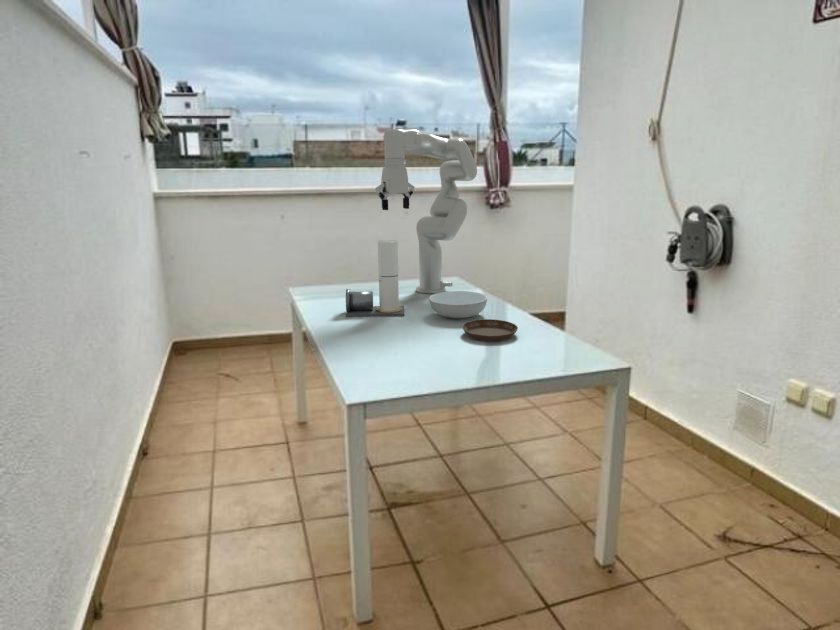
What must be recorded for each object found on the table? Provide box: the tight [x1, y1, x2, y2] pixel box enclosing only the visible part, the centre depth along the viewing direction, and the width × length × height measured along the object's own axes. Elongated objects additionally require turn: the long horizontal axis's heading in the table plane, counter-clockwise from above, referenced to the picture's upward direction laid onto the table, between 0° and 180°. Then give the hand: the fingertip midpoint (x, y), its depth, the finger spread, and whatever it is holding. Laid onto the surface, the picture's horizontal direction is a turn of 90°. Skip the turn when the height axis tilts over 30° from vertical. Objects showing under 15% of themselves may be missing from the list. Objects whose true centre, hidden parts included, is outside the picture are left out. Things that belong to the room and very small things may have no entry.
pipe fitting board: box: [345, 288, 405, 318], centre depth 218 cm, size 21×12×9 cm, turn 92°
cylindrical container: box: [377, 239, 400, 311], centre depth 216 cm, size 7×7×25 cm
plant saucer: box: [461, 318, 519, 342], centre depth 190 cm, size 18×18×3 cm
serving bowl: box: [428, 290, 488, 320], centre depth 213 cm, size 21×21×7 cm
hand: (395, 209), depth 227 cm, fingers open, 9 cm apart
